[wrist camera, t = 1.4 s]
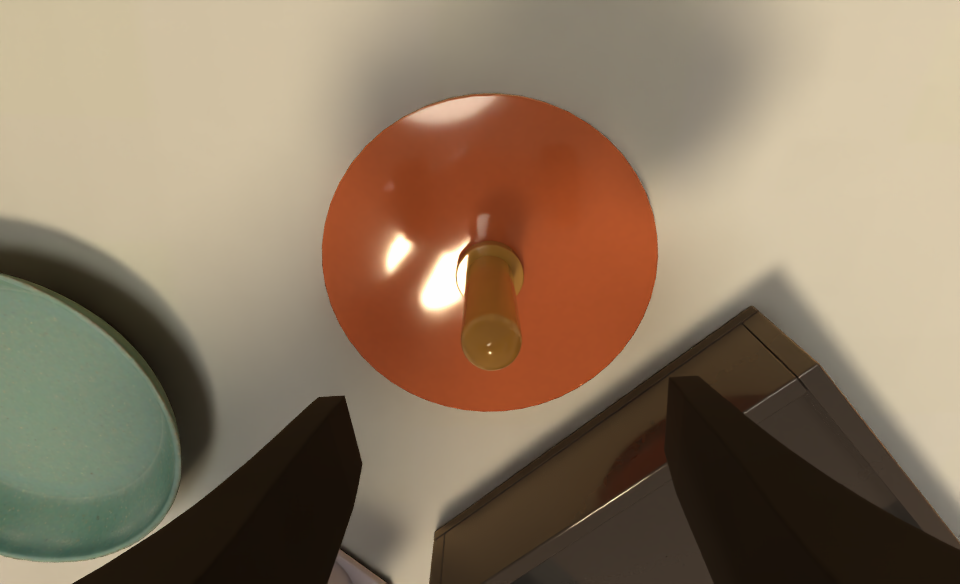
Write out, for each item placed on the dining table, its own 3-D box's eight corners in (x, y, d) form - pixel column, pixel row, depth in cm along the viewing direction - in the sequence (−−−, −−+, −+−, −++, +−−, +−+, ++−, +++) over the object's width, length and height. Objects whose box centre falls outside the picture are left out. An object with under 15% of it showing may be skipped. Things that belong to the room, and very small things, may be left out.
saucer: (-190, 227, 21) (-278, 248, 19) (186, 252, 21) (147, 276, 19) (-68, 511, 27) (-124, 555, 24) (227, 528, 27) (202, 573, 24)
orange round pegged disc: (481, 448, 25) (480, 590, 18) (261, 256, 21) (156, 343, 15) (715, 272, 22) (823, 366, 15) (500, 7, 18) (511, -32, 11)
